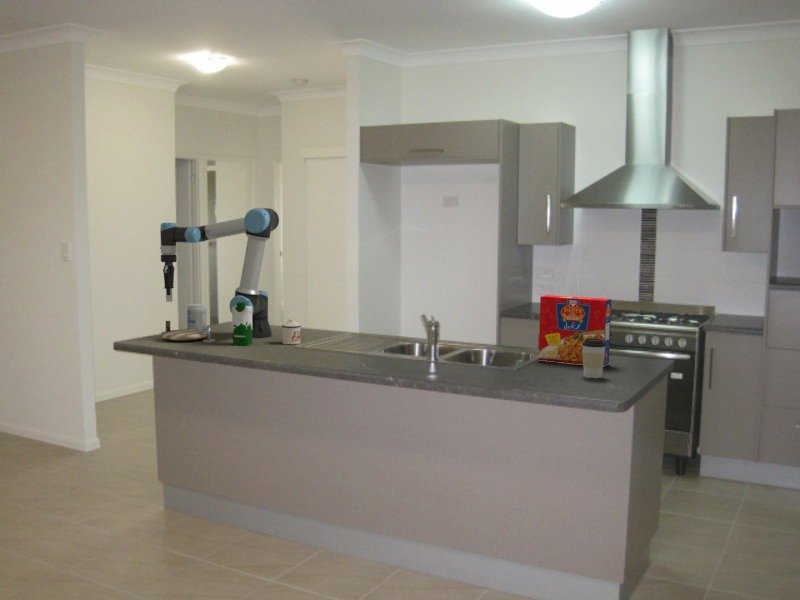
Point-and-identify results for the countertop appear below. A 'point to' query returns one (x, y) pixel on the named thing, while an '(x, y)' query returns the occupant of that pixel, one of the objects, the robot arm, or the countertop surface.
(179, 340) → the turntable base
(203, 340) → the dial pointer stand
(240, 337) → the milk carton
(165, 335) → the lazy susan platter
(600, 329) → the pasta box
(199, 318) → the supplement tub
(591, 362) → the coffee cup
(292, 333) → the teacup with lid
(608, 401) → the countertop surface
